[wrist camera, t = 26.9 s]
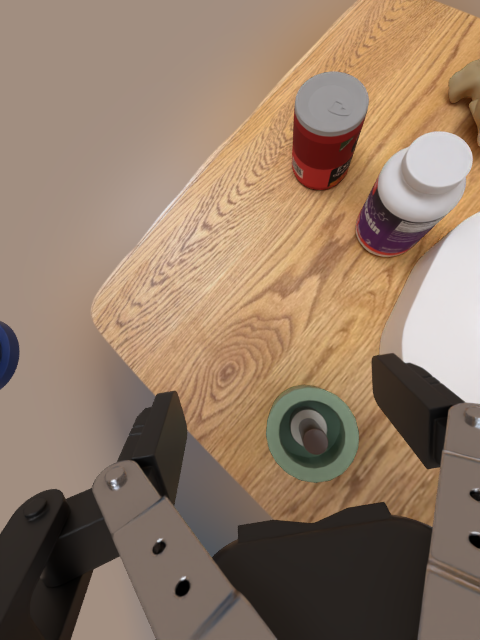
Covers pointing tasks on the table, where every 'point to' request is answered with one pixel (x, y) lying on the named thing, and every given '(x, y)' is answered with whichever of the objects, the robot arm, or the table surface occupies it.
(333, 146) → the red supplement tub
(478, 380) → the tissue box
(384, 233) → the pill bottle
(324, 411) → the jar
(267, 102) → the table surface
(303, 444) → the brown dowel with collar
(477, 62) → the cat figurine
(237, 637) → the robot arm
